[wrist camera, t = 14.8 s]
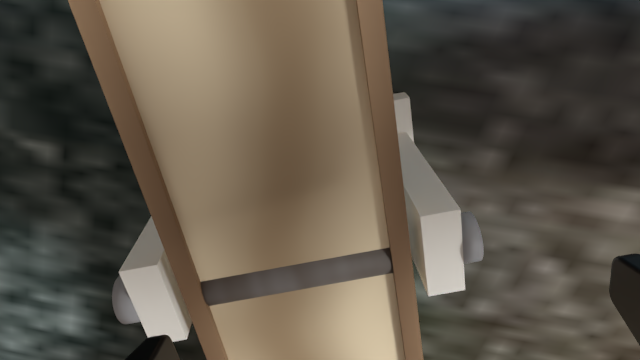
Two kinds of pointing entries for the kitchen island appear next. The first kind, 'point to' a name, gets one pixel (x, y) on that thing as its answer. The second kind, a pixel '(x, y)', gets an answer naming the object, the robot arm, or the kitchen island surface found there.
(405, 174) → the pivot stand
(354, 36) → the beam
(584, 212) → the kitchen island surface
